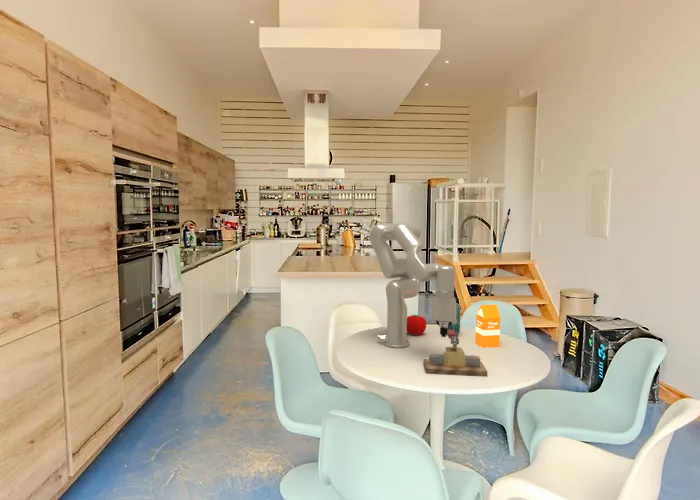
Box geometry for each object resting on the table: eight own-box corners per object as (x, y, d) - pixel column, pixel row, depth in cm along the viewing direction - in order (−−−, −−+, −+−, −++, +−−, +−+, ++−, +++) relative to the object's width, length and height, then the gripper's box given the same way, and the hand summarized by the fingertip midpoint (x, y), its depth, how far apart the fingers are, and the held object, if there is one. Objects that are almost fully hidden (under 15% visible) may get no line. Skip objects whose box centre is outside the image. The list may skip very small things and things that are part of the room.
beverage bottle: (445, 333, 234) (446, 296, 232) (457, 333, 235) (458, 296, 233) (449, 337, 228) (450, 299, 226) (461, 337, 228) (463, 299, 227)
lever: (451, 344, 178) (451, 338, 178) (446, 334, 194) (446, 327, 194) (459, 345, 178) (459, 338, 177) (453, 334, 194) (454, 328, 193)
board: (425, 373, 175) (425, 368, 175) (423, 363, 187) (423, 358, 187) (487, 376, 173) (487, 371, 173) (480, 366, 185) (481, 361, 185)
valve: (430, 366, 178) (430, 345, 177) (428, 361, 184) (429, 341, 183) (480, 368, 176) (481, 347, 175) (477, 363, 182) (478, 343, 182)
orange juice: (499, 347, 212) (501, 306, 210) (482, 348, 210) (484, 306, 209) (491, 342, 220) (492, 302, 218) (474, 343, 218) (476, 303, 216)
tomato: (406, 337, 227) (406, 317, 226) (401, 331, 238) (402, 312, 237) (428, 337, 228) (429, 317, 227) (423, 331, 239) (424, 312, 238)
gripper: (426, 294, 188) (425, 337, 189) (462, 297, 183) (460, 340, 185) (428, 291, 195) (427, 332, 196) (463, 294, 190) (461, 335, 192)
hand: (443, 336), depth 190 cm, fingers closed
